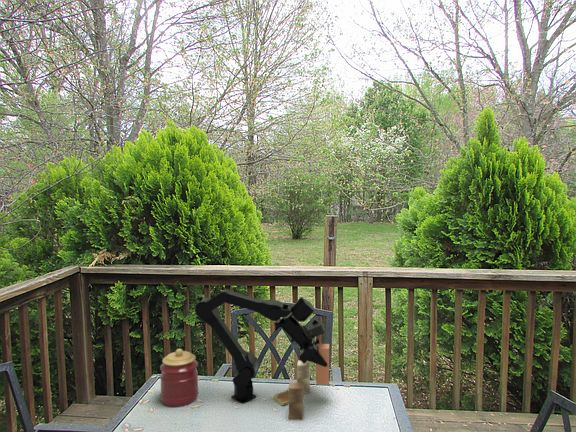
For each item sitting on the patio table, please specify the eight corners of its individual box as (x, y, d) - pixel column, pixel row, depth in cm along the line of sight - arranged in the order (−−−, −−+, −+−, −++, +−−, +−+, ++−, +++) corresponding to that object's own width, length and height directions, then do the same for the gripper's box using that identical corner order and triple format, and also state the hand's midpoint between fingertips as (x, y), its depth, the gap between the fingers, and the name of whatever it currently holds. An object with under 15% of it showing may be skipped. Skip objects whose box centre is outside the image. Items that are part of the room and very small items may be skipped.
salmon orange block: (316, 384, 133) (316, 348, 133) (316, 378, 138) (316, 343, 137) (329, 384, 133) (329, 348, 133) (329, 379, 137) (329, 344, 137)
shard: (295, 391, 144) (295, 386, 144) (309, 399, 138) (309, 394, 138) (271, 400, 138) (271, 394, 137) (284, 409, 131) (284, 403, 131)
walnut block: (288, 419, 124) (288, 388, 124) (290, 412, 129) (290, 382, 128) (302, 420, 124) (302, 388, 123) (303, 412, 128) (303, 382, 128)
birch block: (297, 392, 142) (297, 365, 142) (298, 387, 146) (298, 360, 146) (309, 393, 142) (309, 365, 141) (309, 387, 146) (309, 361, 146)
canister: (192, 407, 132) (192, 356, 131) (154, 407, 132) (154, 355, 132) (202, 389, 145) (201, 342, 144) (167, 389, 145) (167, 342, 145)
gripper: (309, 322, 126) (344, 357, 125) (312, 307, 144) (342, 338, 143) (285, 345, 127) (319, 381, 126) (291, 328, 145) (321, 358, 144)
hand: (326, 363), depth 135 cm, fingers closed on salmon orange block, 4 cm apart
